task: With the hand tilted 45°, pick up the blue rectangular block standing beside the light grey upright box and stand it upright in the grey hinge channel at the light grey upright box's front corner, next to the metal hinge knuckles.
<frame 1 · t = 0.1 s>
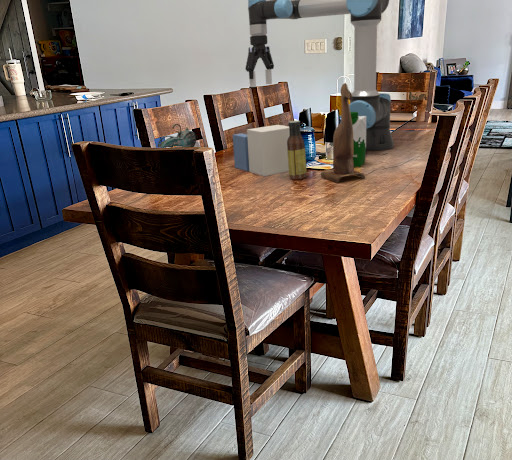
hand: (261, 85, 230), 28 cm above the table, tool pointing down, fingers open, 13 cm apart
blue rectangular block: (245, 168, 200), on the table
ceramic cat: (179, 179, 190), on the table
bird sculpture: (342, 178, 177), on the table
light grey upright box: (264, 164, 204), on the table
milk carton: (353, 165, 195), on the table
sauce bottle: (297, 178, 181), on the table
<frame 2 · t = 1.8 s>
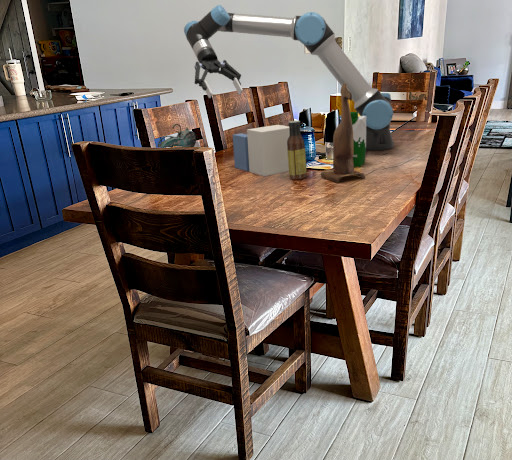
hand: (226, 94, 199), 28 cm above the table, tool tilted 45°, fingers open, 13 cm apart
nothing on the table moved.
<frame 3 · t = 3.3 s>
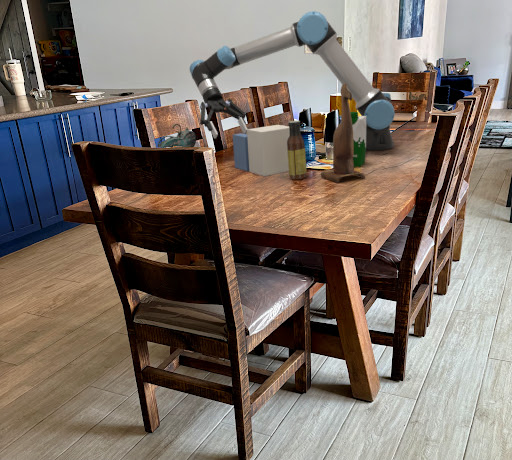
hand: (231, 134, 202), 13 cm above the table, tool tilted 45°, fingers open, 13 cm apart
nothing on the table moved.
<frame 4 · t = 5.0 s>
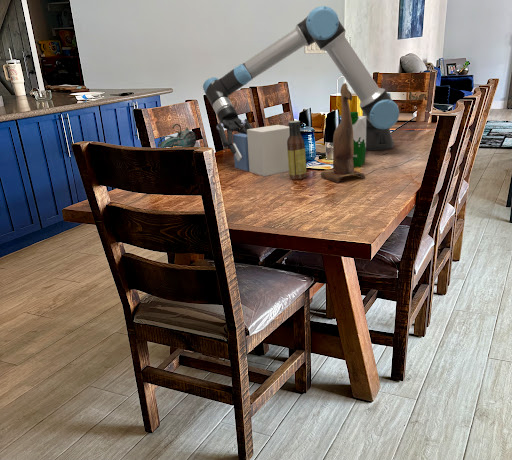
hand: (249, 157, 196), 5 cm above the table, tool tilted 45°, fingers open, 8 cm apart
nothing on the table moved.
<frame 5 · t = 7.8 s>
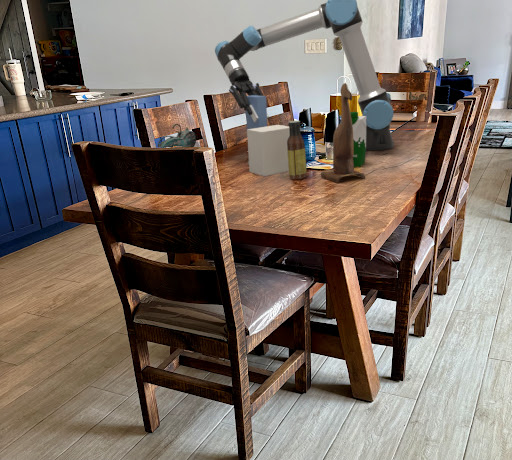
hand: (261, 119, 199), 18 cm above the table, tool tilted 45°, fingers closed on blue rectangular block, 4 cm apart
blue rectangular block: (257, 129, 203), point 14 cm above the table, touching gripper
everything else where it was.
when the fingers open (6 cm above the table, at t = 10.2 s): blue rectangular block drops 1 cm, resting on light grey upright box.
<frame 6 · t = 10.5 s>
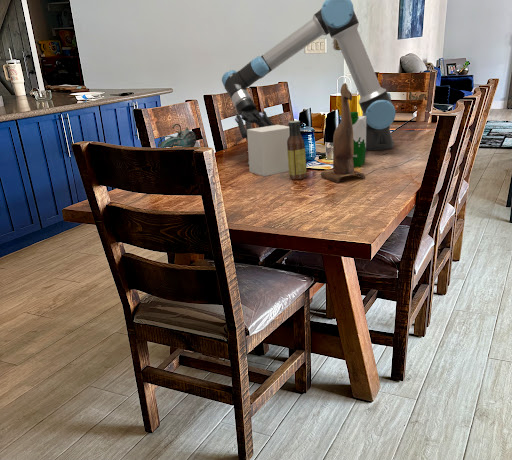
hand: (268, 148, 199), 7 cm above the table, tool tilted 45°, fingers open, 8 cm apart
blue rectangular block: (264, 162, 204), point 1 cm above the table, touching light grey upright box
everything else where it was.
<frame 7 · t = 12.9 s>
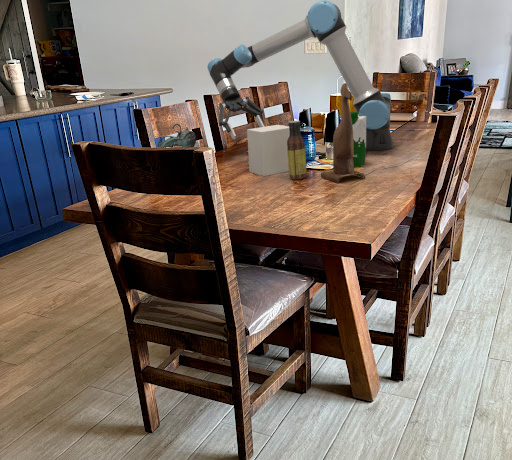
hand: (249, 133, 210), 11 cm above the table, tool tilted 40°, fingers open, 13 cm apart
nothing on the table moved.
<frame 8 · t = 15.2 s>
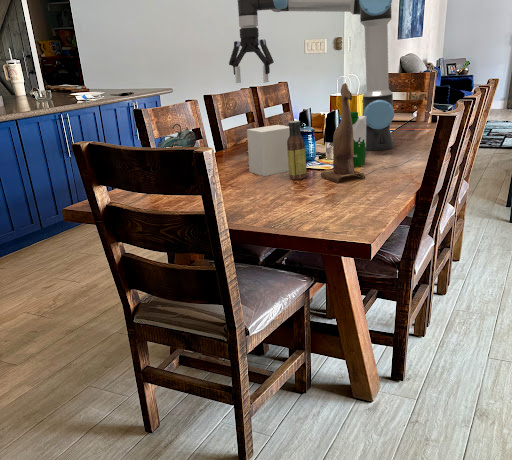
hand: (252, 82, 211), 31 cm above the table, tool pointing down, fingers open, 13 cm apart
nothing on the table moved.
at the end: blue rectangular block inside the target area on the light grey upright box (0.1 cm from its centre), point 0.8 cm above the light grey upright box's base; blue rectangular block tilted 0°; the gripper is holding nothing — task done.
